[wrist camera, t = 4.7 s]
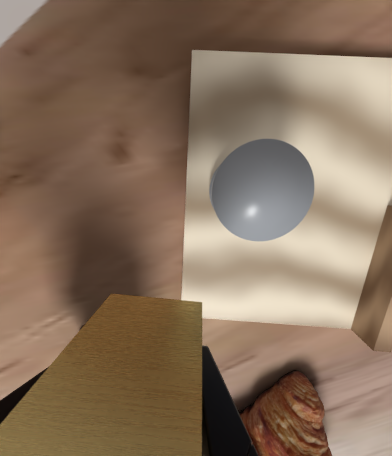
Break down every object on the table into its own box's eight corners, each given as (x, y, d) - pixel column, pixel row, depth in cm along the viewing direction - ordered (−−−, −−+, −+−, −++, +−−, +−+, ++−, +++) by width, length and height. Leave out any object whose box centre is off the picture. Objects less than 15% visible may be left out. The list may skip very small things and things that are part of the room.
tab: (194, 374, 9) (185, 606, 4) (113, 366, 9) (5, 584, 4) (202, 302, 8) (201, 488, 3) (111, 293, 8) (-32, 461, 3)
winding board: (368, 322, 20) (405, 353, 16) (181, 308, 20) (177, 335, 16) (447, 71, 14) (530, 33, 11) (192, 60, 15) (189, 20, 11)
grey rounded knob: (273, 226, 16) (303, 244, 11) (206, 222, 16) (208, 238, 12) (284, 155, 15) (324, 141, 10) (211, 151, 15) (216, 135, 10)
